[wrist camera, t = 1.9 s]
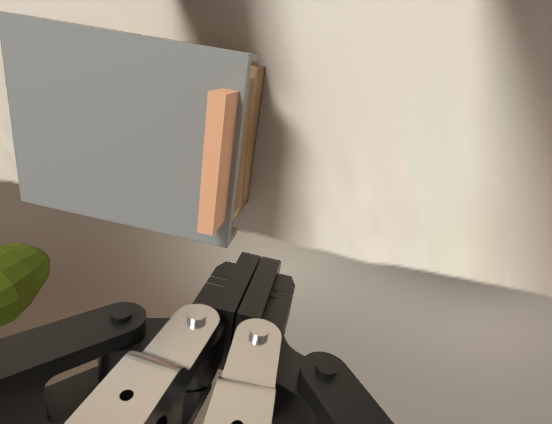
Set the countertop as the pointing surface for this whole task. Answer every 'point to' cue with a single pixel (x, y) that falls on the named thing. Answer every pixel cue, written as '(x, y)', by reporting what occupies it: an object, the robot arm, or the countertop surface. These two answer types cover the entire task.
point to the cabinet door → (126, 125)
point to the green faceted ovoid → (20, 278)
